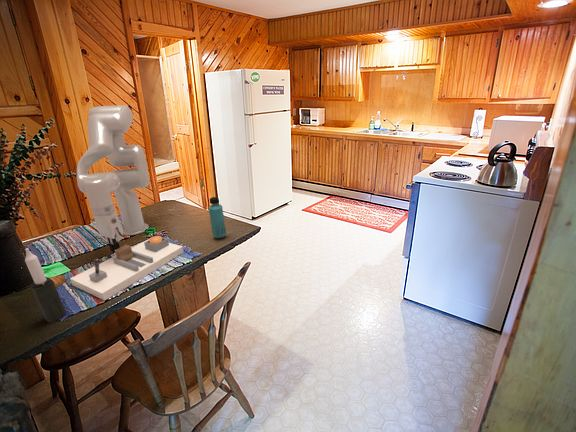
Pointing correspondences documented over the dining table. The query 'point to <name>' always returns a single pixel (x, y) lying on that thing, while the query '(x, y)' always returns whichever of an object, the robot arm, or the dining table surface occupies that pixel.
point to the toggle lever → (97, 265)
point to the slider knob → (124, 253)
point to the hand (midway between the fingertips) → (115, 251)
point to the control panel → (126, 269)
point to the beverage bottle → (217, 218)
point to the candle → (44, 290)
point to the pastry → (58, 280)
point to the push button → (155, 240)
